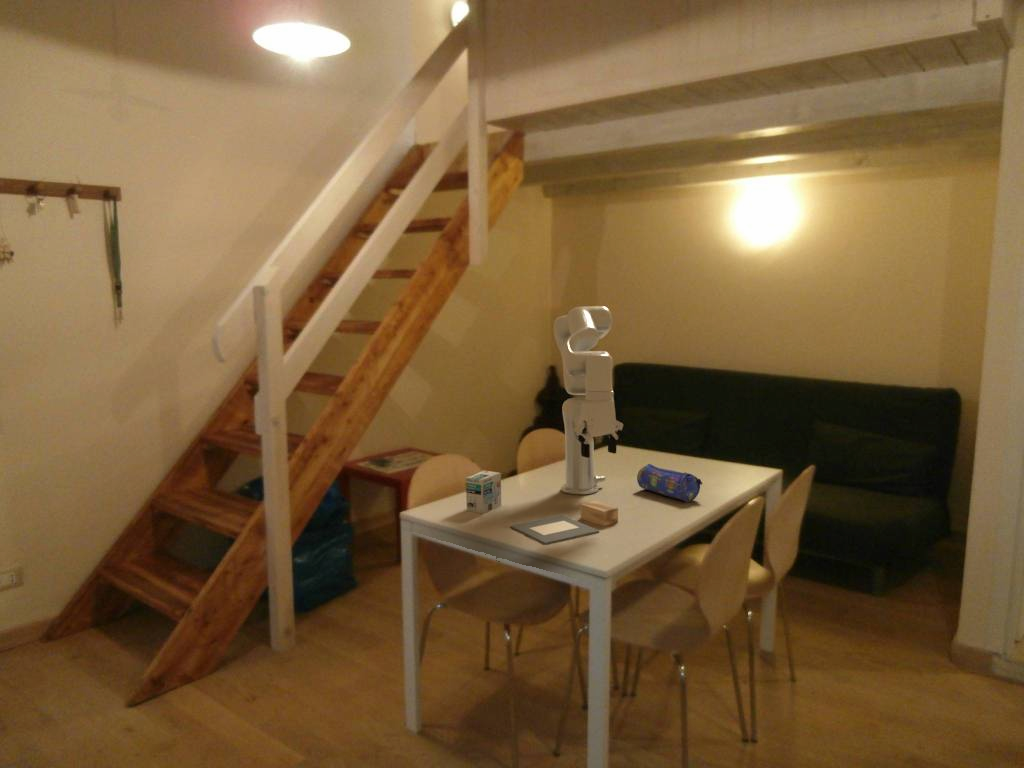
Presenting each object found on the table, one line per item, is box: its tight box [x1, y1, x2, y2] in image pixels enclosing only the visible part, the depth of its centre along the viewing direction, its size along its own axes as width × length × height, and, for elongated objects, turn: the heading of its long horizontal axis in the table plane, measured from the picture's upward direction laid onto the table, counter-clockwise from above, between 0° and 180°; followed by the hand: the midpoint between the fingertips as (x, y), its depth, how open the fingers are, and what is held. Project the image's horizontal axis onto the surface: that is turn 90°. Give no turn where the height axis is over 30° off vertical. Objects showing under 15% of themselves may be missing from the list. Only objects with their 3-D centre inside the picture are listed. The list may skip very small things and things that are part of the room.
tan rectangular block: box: [580, 500, 619, 527], centre depth 218 cm, size 6×10×4 cm, turn 37°
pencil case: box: [636, 463, 703, 504], centre depth 242 cm, size 22×9×10 cm, turn 34°
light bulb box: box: [465, 470, 502, 514], centre depth 232 cm, size 11×7×11 cm, turn 149°
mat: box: [510, 514, 600, 545], centre depth 210 cm, size 18×18×1 cm
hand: (599, 454), depth 216 cm, fingers open, 9 cm apart
